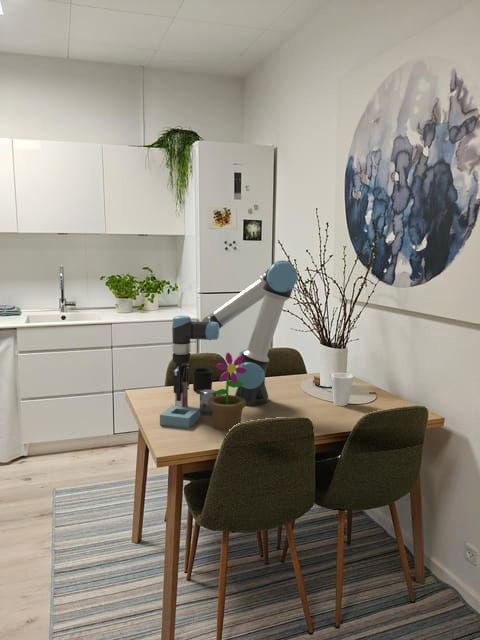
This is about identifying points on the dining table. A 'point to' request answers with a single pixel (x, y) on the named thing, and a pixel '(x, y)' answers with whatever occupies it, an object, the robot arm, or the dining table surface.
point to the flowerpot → (228, 397)
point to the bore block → (180, 416)
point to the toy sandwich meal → (316, 380)
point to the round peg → (206, 401)
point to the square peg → (184, 394)
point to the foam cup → (341, 388)
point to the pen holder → (202, 379)
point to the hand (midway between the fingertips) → (181, 405)
